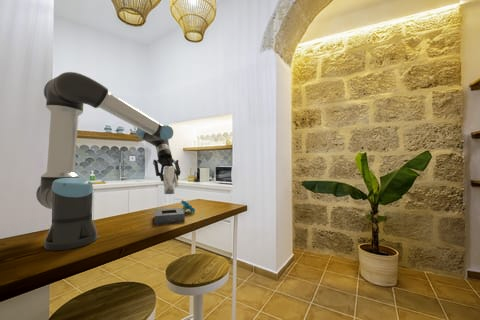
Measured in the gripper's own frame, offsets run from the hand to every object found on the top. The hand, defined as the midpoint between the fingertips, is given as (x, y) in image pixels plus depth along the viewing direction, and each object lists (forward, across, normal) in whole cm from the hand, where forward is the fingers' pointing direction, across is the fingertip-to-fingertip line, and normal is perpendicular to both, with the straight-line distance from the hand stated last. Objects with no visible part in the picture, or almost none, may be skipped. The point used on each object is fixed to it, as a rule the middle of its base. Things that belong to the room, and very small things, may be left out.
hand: (171, 185), depth 104 cm
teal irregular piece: (+4, -13, -23) cm, 26 cm away
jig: (+10, 0, -16) cm, 19 cm away
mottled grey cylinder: (+1, 0, -6) cm, 6 cm away
